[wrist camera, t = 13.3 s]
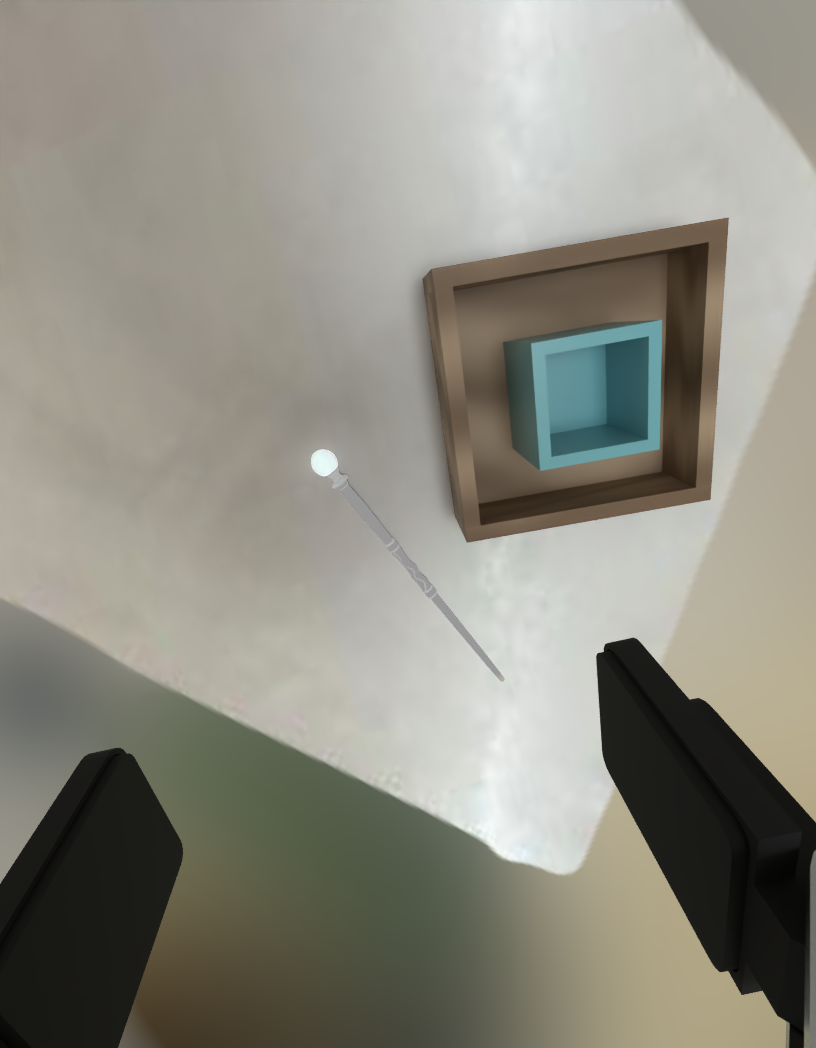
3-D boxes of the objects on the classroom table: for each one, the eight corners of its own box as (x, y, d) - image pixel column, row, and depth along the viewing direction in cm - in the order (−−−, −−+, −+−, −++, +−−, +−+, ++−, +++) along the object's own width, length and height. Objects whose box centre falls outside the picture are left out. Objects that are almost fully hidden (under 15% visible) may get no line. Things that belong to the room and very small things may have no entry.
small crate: (502, 341, 32) (531, 343, 26) (611, 322, 32) (662, 320, 26) (512, 448, 34) (540, 471, 29) (612, 430, 34) (659, 449, 29)
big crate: (422, 278, 31) (431, 269, 26) (675, 234, 31) (728, 217, 26) (455, 516, 37) (467, 542, 32) (667, 478, 37) (710, 499, 32)
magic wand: (497, 672, 44) (492, 689, 43) (314, 449, 35) (301, 463, 34) (514, 671, 43) (509, 688, 42) (329, 440, 34) (316, 454, 33)
